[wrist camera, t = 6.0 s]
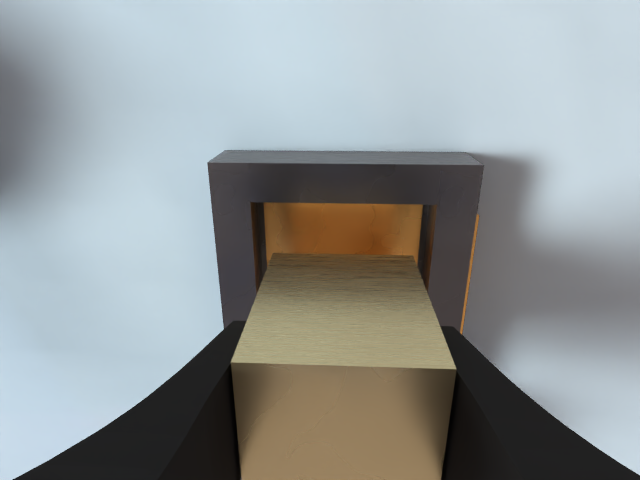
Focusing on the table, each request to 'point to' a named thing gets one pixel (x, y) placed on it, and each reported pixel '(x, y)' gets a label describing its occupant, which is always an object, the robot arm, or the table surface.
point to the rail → (345, 216)
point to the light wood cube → (342, 372)
